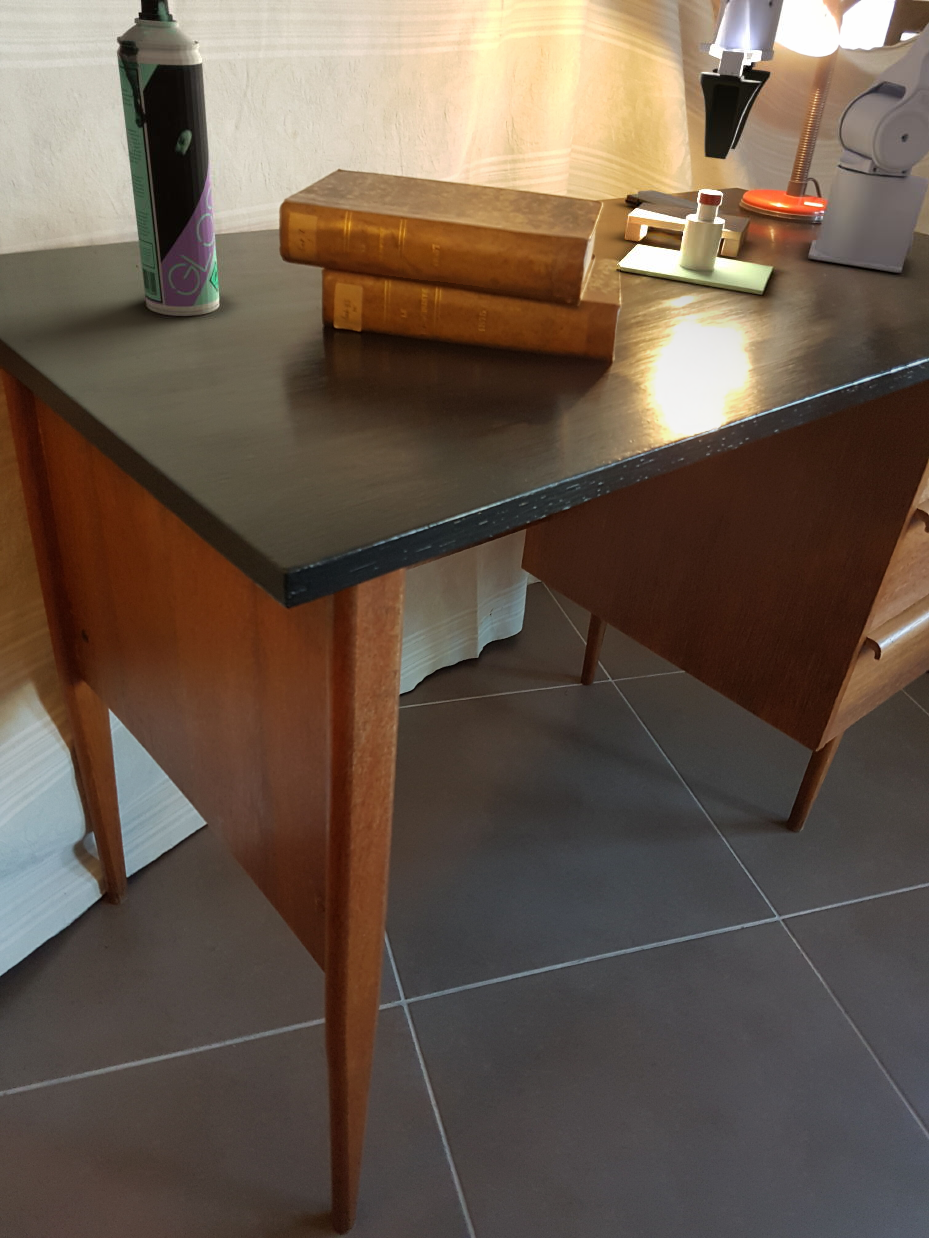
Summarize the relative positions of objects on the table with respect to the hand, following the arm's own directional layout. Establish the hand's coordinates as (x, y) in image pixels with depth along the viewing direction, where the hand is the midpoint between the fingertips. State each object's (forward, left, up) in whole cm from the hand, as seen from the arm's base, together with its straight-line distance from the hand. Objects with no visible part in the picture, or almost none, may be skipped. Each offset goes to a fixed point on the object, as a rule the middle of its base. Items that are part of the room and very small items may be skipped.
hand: (720, 152), depth 96 cm
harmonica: (+5, -13, -10) cm, 17 cm away
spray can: (+33, +46, -10) cm, 58 cm away
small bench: (+2, -3, -9) cm, 10 cm away
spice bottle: (-1, +9, -9) cm, 13 cm away
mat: (-1, +9, -9) cm, 13 cm away
